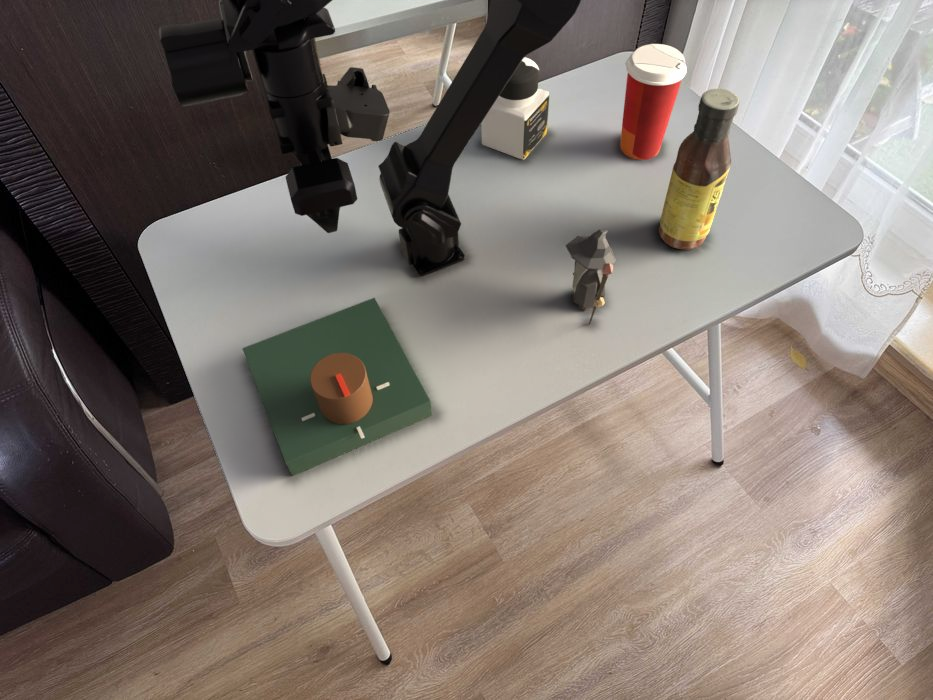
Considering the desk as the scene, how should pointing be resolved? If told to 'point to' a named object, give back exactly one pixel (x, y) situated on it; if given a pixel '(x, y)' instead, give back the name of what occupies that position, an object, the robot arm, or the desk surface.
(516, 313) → the desk surface
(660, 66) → the paper cup
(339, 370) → the rotary dial knob
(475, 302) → the desk surface
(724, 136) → the sauce bottle
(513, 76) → the medicine bottle
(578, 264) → the wizard figurine
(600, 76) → the desk surface
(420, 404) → the rotary dial base
